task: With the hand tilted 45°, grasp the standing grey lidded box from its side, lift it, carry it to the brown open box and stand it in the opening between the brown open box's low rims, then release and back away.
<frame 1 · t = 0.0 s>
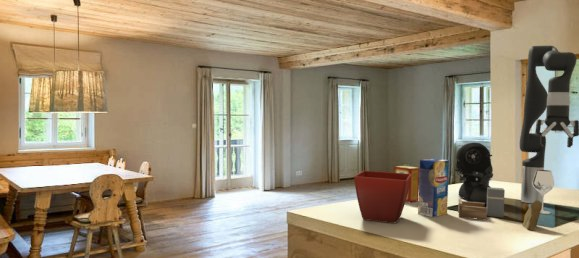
hand: (556, 146, 171), 29 cm above the kitchen island, tool pointing down, fingers open, 8 cm apart
wineglass: (541, 212, 191), on the kitchen island
plant pot: (382, 219, 171), on the kitchen island
brown open box: (471, 215, 181), on the kitchen island
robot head: (473, 200, 217), on the kitchen island
grey lidded box: (494, 215, 182), on the kitchen island
rock: (529, 227, 163), on the kitchen island
baking soda box: (405, 200, 211), on the kitchen island
beverage box: (432, 214, 182), on the kitchen island
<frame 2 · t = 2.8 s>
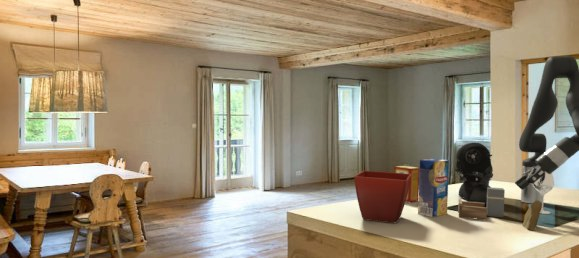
hand: (518, 186, 179), 12 cm above the kitchen island, tool tilted 45°, fingers open, 8 cm apart
nothing on the kitchen island moved.
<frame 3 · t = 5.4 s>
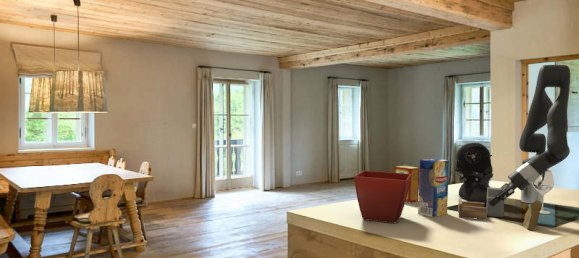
hand: (490, 203, 183), 5 cm above the kitchen island, tool tilted 45°, fingers closed on grey lidded box, 5 cm apart
grey lidded box: (494, 215, 182), on the kitchen island, touching gripper
everything else where it was.
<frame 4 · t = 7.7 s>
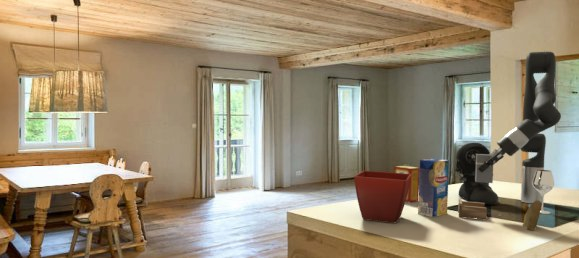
hand: (479, 169, 180), 19 cm above the kitchen island, tool tilted 45°, fingers closed on grey lidded box, 5 cm apart
grey lidded box: (483, 181, 180), point 14 cm above the kitchen island, touching gripper
everything else where it was.
when the fingers open (9 cm above the kitchen island, at t = 10.1 s): grey lidded box drops 1 cm, resting on brown open box.
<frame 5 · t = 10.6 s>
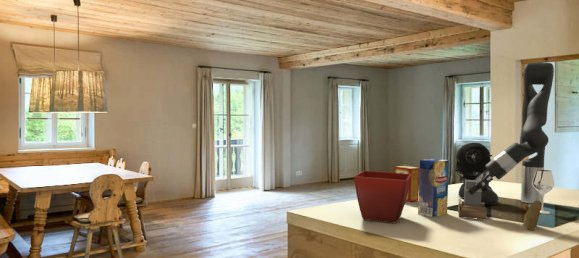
hand: (469, 191, 181), 10 cm above the kitchen island, tool tilted 45°, fingers open, 8 cm apart
grey lidded box: (472, 208, 181), point 3 cm above the kitchen island, touching brown open box
everything else where it was.
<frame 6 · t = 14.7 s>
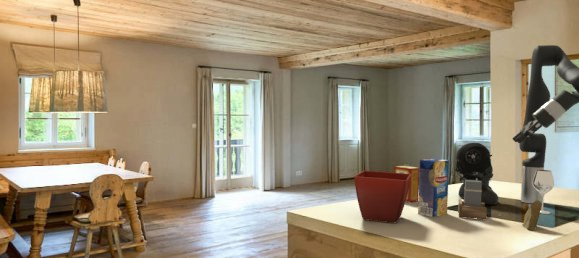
hand: (515, 141, 180), 31 cm above the kitchen island, tool tilted 45°, fingers open, 8 cm apart
nothing on the kitchen island moved.
at the end: grey lidded box inside the target area on the brown open box (0.2 cm from its centre), point 3.0 cm above the brown open box's base; grey lidded box tilted 0°; the gripper is holding nothing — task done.
